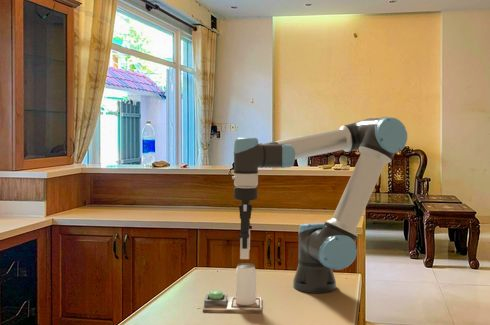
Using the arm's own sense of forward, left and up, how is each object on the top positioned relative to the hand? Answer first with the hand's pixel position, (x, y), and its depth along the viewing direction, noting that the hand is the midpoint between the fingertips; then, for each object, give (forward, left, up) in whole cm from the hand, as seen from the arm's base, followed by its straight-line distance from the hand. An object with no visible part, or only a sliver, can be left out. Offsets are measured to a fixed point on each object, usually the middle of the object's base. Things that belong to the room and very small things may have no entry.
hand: (245, 254), depth 161 cm
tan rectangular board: (+4, 0, -17) cm, 17 cm away
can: (0, 0, -16) cm, 16 cm away
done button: (+9, 0, -14) cm, 17 cm away
